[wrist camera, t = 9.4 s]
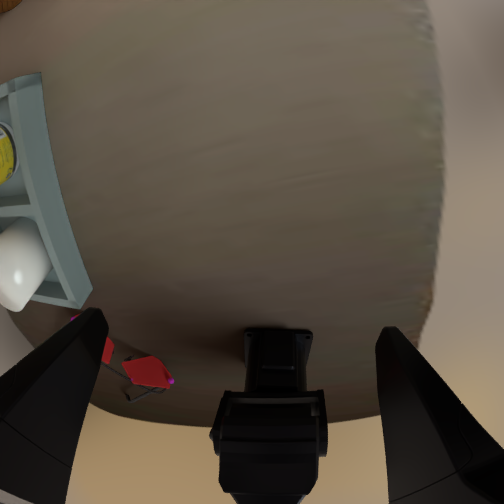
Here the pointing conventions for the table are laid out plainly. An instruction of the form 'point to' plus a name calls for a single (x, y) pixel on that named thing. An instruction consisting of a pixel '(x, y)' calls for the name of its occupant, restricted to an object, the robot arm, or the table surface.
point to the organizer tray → (40, 193)
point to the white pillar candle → (22, 263)
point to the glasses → (140, 371)
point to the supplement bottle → (7, 153)
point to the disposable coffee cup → (8, 5)
